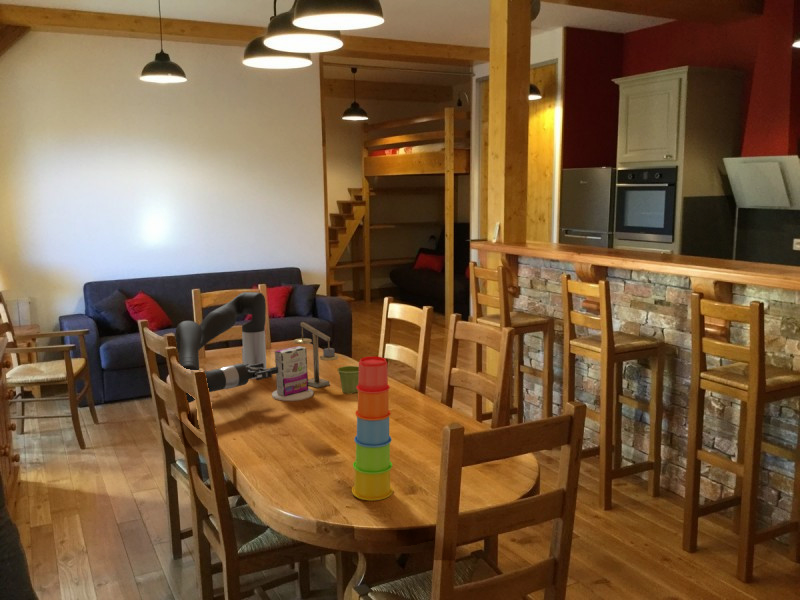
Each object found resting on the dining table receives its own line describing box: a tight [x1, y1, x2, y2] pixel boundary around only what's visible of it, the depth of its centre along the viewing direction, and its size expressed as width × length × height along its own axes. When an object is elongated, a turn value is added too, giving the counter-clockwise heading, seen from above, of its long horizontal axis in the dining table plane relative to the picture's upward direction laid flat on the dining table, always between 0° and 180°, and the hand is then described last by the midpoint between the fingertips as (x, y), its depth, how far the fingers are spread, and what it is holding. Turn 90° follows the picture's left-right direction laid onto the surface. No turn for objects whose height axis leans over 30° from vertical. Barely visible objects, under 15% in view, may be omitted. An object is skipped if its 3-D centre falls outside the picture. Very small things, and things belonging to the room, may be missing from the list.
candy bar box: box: [274, 345, 309, 396], centre depth 265 cm, size 11×5×16 cm, turn 134°
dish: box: [271, 387, 314, 402], centre depth 266 cm, size 15×15×1 cm
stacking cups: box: [351, 355, 394, 502], centre depth 178 cm, size 10×10×35 cm
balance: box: [293, 321, 339, 389], centre depth 278 cm, size 22×7×24 cm, turn 47°
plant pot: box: [337, 365, 359, 395], centre depth 269 cm, size 9×9×9 cm
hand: (270, 367), depth 257 cm, fingers open, 8 cm apart
